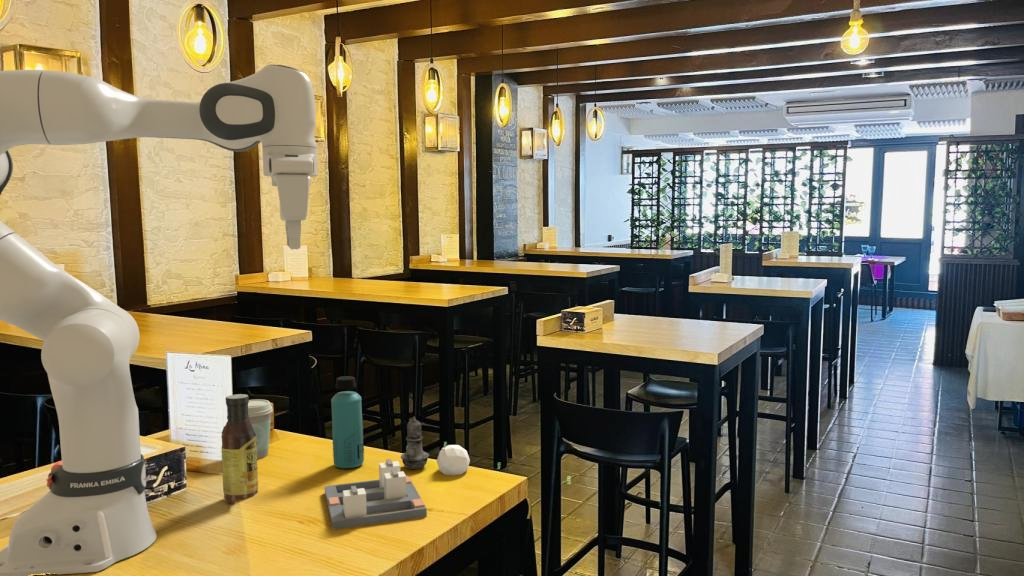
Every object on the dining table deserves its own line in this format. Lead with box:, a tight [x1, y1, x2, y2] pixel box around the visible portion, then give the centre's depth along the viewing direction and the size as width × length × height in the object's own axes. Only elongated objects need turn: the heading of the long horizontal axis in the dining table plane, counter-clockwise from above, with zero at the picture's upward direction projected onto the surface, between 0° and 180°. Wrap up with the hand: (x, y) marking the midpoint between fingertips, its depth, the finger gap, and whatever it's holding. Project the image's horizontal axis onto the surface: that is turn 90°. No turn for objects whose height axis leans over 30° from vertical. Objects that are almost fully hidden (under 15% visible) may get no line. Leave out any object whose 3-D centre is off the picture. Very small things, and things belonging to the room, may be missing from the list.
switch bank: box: [324, 475, 428, 531], centre depth 131 cm, size 16×17×3 cm
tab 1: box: [342, 486, 368, 519], centre depth 124 cm, size 4×3×6 cm
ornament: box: [436, 444, 471, 476], centre depth 148 cm, size 6×7×7 cm
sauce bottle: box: [220, 393, 259, 505], centre depth 136 cm, size 6×6×20 cm
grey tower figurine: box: [400, 416, 430, 470], centre depth 150 cm, size 6×6×12 cm
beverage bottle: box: [330, 375, 365, 469], centre depth 151 cm, size 6×7×20 cm
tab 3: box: [384, 469, 407, 500], centre depth 132 cm, size 4×3×6 cm
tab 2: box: [378, 458, 401, 488], centre depth 138 cm, size 4×3×6 cm
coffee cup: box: [248, 398, 274, 460], centre depth 161 cm, size 8×8×12 cm
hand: (293, 247), depth 122 cm, fingers open, 8 cm apart
